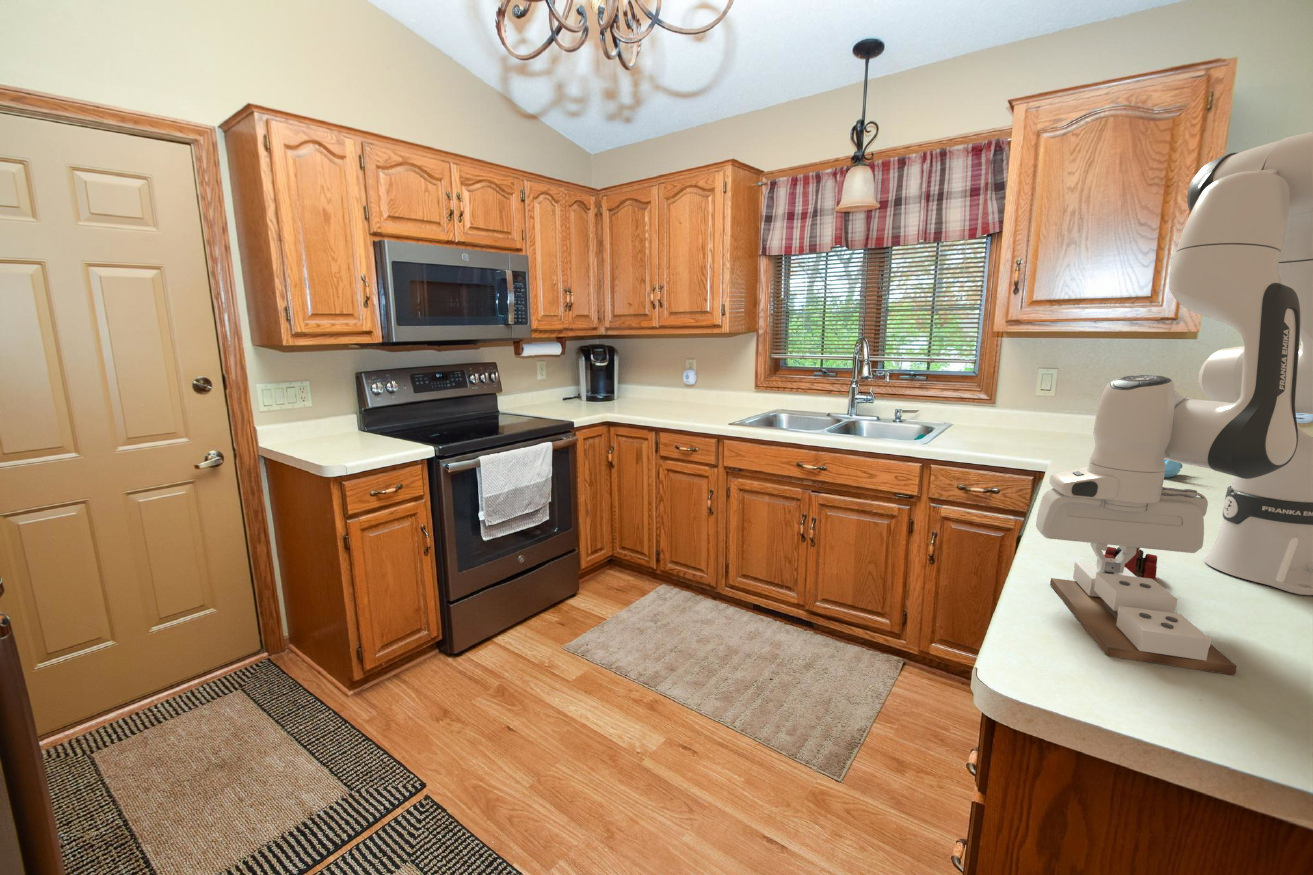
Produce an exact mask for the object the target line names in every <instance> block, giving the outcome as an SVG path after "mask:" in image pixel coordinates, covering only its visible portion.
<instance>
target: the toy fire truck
mask: <svg viewBox="0 0 1313 875" xmlns="http://www.w3.org/2000/svg"><path fill="white" fill-rule="evenodd" d="M1121 551H1122V550H1121V549H1120V548H1119V546H1118V547H1117V548H1116V547H1113V546H1107V550H1106V551H1104V556H1105V558H1113V559H1115V557H1116V556H1117V555H1118V554H1119V553H1120V552H1121ZM1144 553H1145V552H1144V550H1142V549H1141V548H1137V550H1136V554H1135V555H1134V556H1133V557H1132V558H1131V559H1130V560H1129V561H1128V562H1127V563H1125V566H1124V567H1126V568H1127V569H1128V570H1129V571H1130V572H1132V573H1133V574H1134V575H1135V576H1136V577H1141V578H1150V579H1153V580H1154V581H1156V576H1157V568H1158V566H1157V565H1158V556H1157V554H1151V553H1146V554H1145V556H1144Z"/></svg>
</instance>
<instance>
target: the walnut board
mask: <svg viewBox="0 0 1313 875" xmlns="http://www.w3.org/2000/svg"><path fill="white" fill-rule="evenodd" d="M1049 586H1051V589H1053V591H1054V592H1055V593H1056V594H1057V596H1058V597H1059V598H1060V600H1061V601H1062V602H1063V603H1064V604H1065V606H1066V607H1067V609H1069V610H1070V612H1071V613H1072V614H1073V616H1074V617H1075V618H1076V619H1077V621H1078V622H1079V623H1080V624H1081V626H1082V627H1083V628H1084V629H1085V631H1086V632H1087V633H1088V635H1089V636H1090V637H1091V638H1092V639H1093V640H1094V642H1095V643H1096V644H1097V645H1098V647H1099V648H1100V649H1101V650H1102V652H1103V653H1104V655H1106V657H1107V656H1108V657H1113V658H1120V659H1126V660H1133V661H1140V662H1146V663H1153V664H1159V665H1166V666H1172V667H1179V668H1186V669H1193V670H1200V671H1206V672H1213V673H1219V674H1223V675H1224V674H1225V675H1231V676H1235V675H1236V672H1237V667H1238V666H1237V665H1236V664H1235V663H1234V662H1232V660H1231V659H1229V658H1228V657H1227V656H1226V655H1225V654H1223V653H1222V652H1221V651H1220V650H1218V648H1216V647H1215V646H1214V645H1213V644H1212V643H1211V644H1210V647H1209V650H1208V655H1207V660H1206V661H1205V660H1199V659H1192V658H1185V657H1178V656H1172V655H1165V654H1158V653H1151V652H1145V651H1139V650H1138V649H1137V647H1136V646H1135V645H1134V644H1133V643H1132V642H1131V641H1130V640H1129V639H1128V638H1127V637H1126V635H1125V634H1124V633H1123V632H1122V631H1121V630H1120V629H1119V628H1118V627H1117V626H1116V623H1117V617H1118V611H1113V609H1112V608H1111V607H1110V606H1109V605H1108V604H1107V603H1106V602H1105V601H1104V600H1103V599H1102V598H1101V597H1094V596H1089V595H1088V594H1087V593H1086V592H1085V591H1084V590H1083V588H1082V587H1081V586H1080V585H1079V584H1078V583H1077V582H1076V581H1075V580H1073V579H1072V580H1069V579H1062V578H1055V577H1050V583H1049Z"/></svg>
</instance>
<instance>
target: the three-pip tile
mask: <svg viewBox="0 0 1313 875" xmlns="http://www.w3.org/2000/svg"><path fill="white" fill-rule="evenodd" d="M1116 626H1117V627H1118V628H1119V629H1120V630H1121V631H1122V632H1123V633H1124V634H1125V635H1126V637H1127V638H1128V639H1129V640H1130V641H1131V642H1132V643H1133V644H1134V645H1135V646H1136V647H1137V649H1138V650H1139V651H1145V652H1151V653H1158V654H1165V655H1172V656H1178V657H1185V658H1192V659H1199V660H1205V661H1206V660H1207V655H1208V650H1209V647H1210V644H1212V643H1211V642H1212V639H1211V638H1210V637H1208V636H1207V635H1206V634H1205V633H1204V632H1203V631H1201V630H1200V629H1199V628H1198V627H1197V626H1196V625H1194V624H1193V623H1192V622H1191V621H1190V620H1188V618H1186V617H1185V616H1184V615H1183V614H1181V613H1177V612H1175V613H1170V612H1162V611H1154V610H1147V609H1139V608H1131V607H1123V606H1119V607H1118V617H1117V623H1116Z"/></svg>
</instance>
